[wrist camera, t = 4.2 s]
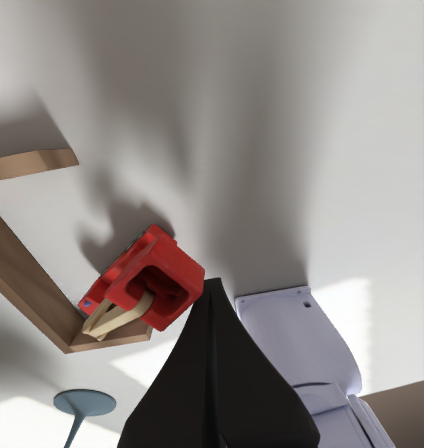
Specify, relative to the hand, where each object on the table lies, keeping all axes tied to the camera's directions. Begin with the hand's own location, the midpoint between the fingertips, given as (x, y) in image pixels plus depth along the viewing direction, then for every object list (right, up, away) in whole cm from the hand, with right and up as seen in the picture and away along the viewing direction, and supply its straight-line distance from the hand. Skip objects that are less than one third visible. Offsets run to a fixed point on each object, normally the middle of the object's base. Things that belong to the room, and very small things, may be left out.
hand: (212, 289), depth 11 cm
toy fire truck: (-7, +2, +6) cm, 9 cm away
